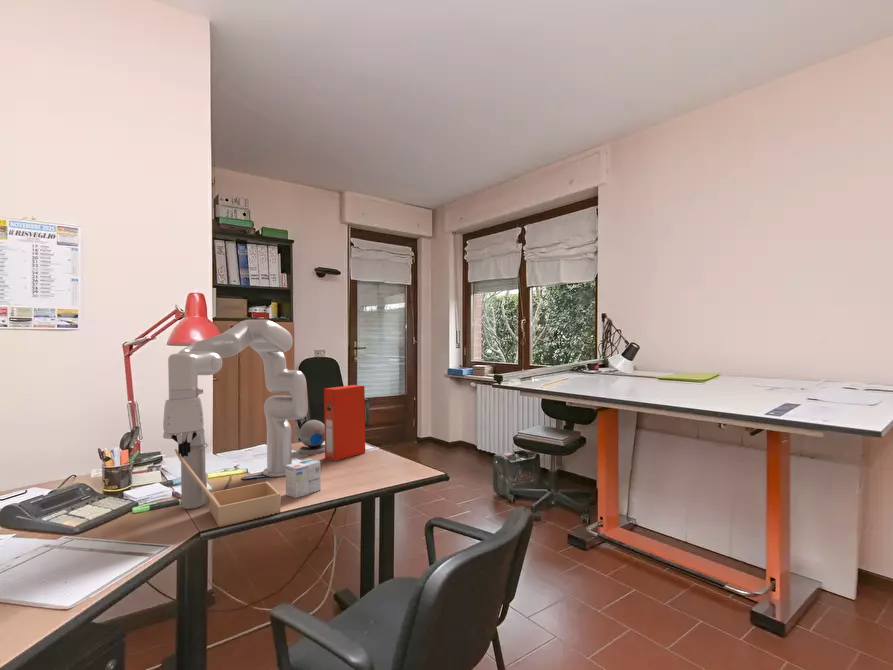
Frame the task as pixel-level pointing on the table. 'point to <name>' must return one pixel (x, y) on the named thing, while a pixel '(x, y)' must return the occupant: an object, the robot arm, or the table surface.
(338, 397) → the file binder
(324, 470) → the table surface
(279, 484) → the table surface
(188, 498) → the water bottle
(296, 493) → the light bulb box
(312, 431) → the webcam
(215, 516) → the cardboard tray
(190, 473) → the lid
